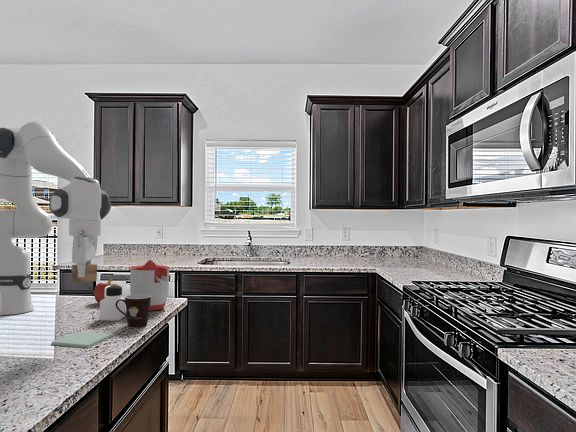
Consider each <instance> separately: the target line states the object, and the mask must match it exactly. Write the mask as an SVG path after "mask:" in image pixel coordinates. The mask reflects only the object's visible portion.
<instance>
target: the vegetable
mask: <svg viewBox="0 0 576 432" xmlns="http://www.w3.org/2000/svg"><path fill="white" fill-rule="evenodd" d="M111 282H113V278H109V279H108V281H107V283H102V282H100V283H96V284H95V286H94V291H93V292H94V300H95V301H96V303H98V304H100V301H101V300H103V299H105V297H104V291H105V287H107V286H111V285H118V286H120V285H119V284H117V283H113V284H112V283H111Z"/></svg>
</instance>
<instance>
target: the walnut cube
mask: <svg viewBox="0 0 576 432" xmlns="http://www.w3.org/2000/svg"><path fill="white" fill-rule="evenodd" d="M97 281H98V263H97V264H96V263H95V264H94V263H91V264H86V265H85V277H83V278H79V277H78V269H77V263H74V264H71V282H73V283H74V282H75V283H82V284H83V283H90V282H97Z"/></svg>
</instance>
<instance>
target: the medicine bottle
mask: <svg viewBox="0 0 576 432" xmlns="http://www.w3.org/2000/svg"><path fill="white" fill-rule="evenodd" d="M118 285H119V284H117V285H111V286H107V287H105V291H104V297H105V299H103V300H101V301H100V303H99V321H109V322H110V321H112V322H114V321H117V322H118V321H119V322H120V320H122V319H123V318H125V317H126V316H125V315H124V314H122V313H121V312H120V311H119V310H118V309H117V308H116V301H118V300H120V299H123V300H125V297H123V287H122V286H121V285H119V286H118ZM117 306H118V308H119V309H120V310H121V311H123V312H124V313H125V314H126V304H125V303H124V302H123V301H119V302H118V304H117Z"/></svg>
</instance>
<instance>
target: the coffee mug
mask: <svg viewBox="0 0 576 432" xmlns="http://www.w3.org/2000/svg"><path fill="white" fill-rule="evenodd" d="M124 298H125V300H123V299H120V300H118V301H116V308H117V309H118V310H119V311H120V312H121V313H122V314H124V315H125V317H126V321H127V326H128V327H130V328H144V327H146V326H148V319H149V313H150V311H149V307H150V300H151V296H150V295H145V294H135V295H131V294H129V295H126V296H124ZM119 301H123V302H124V303H125V304H126V308H125V313H124V312H123V311H121V310H120V309H119V308H118V306H117V304H118V302H119Z"/></svg>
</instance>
